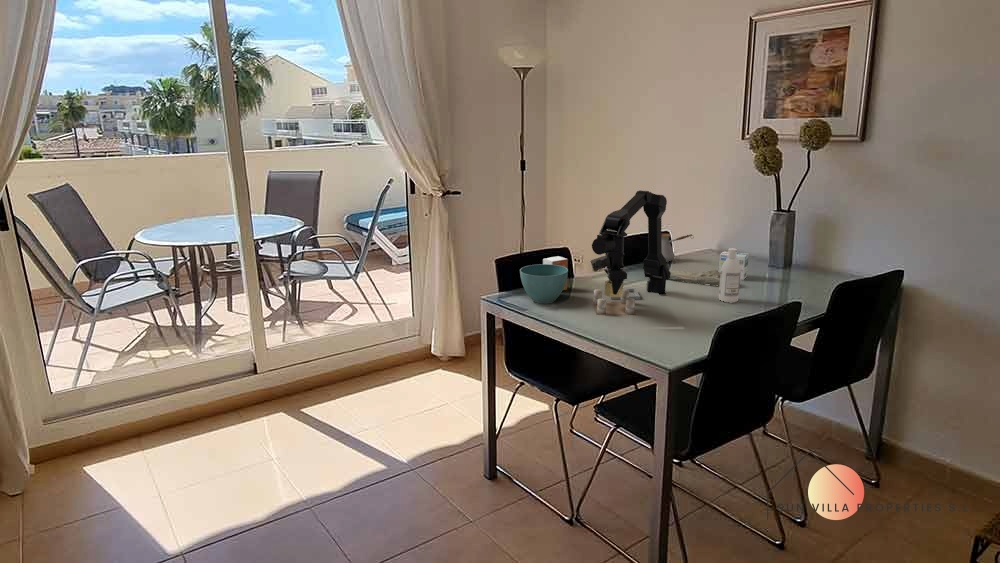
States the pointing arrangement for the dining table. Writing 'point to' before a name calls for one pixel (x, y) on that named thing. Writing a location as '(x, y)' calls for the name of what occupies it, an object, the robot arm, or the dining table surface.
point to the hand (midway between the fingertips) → (613, 292)
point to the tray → (631, 290)
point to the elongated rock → (697, 277)
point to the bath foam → (730, 278)
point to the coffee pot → (669, 246)
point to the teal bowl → (543, 281)
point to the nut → (610, 291)
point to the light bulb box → (742, 261)
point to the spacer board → (613, 304)
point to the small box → (557, 263)
